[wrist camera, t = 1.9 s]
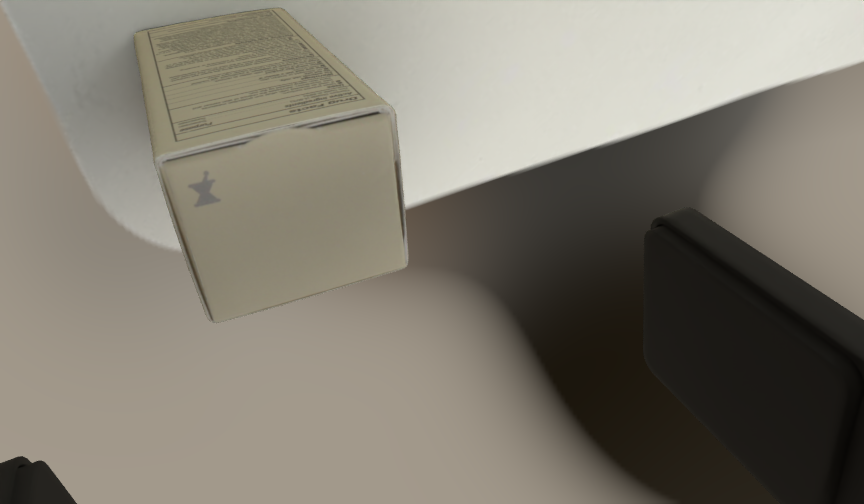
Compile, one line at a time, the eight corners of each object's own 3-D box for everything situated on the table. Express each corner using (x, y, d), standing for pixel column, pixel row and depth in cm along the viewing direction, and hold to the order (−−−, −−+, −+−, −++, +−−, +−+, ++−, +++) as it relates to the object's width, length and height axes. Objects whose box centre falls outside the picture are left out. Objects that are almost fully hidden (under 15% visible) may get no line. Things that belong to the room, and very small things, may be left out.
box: (167, 151, 24) (194, 334, 15) (129, 27, 22) (135, 158, 13) (313, 121, 25) (415, 272, 17) (292, 2, 23) (399, 103, 14)
